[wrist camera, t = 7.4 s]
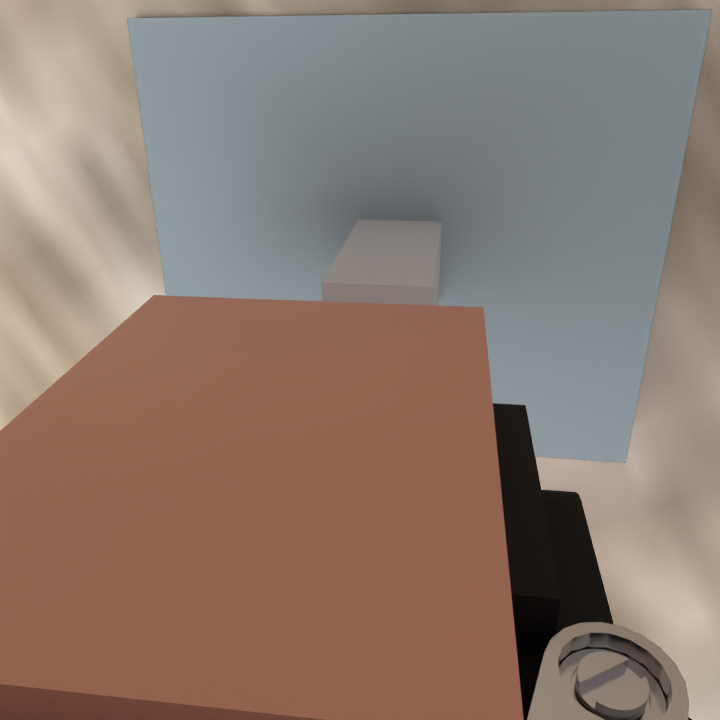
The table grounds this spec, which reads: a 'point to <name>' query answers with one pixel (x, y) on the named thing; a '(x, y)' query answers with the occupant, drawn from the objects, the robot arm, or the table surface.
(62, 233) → the table surface
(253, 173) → the post fixture
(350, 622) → the salmon pink block
